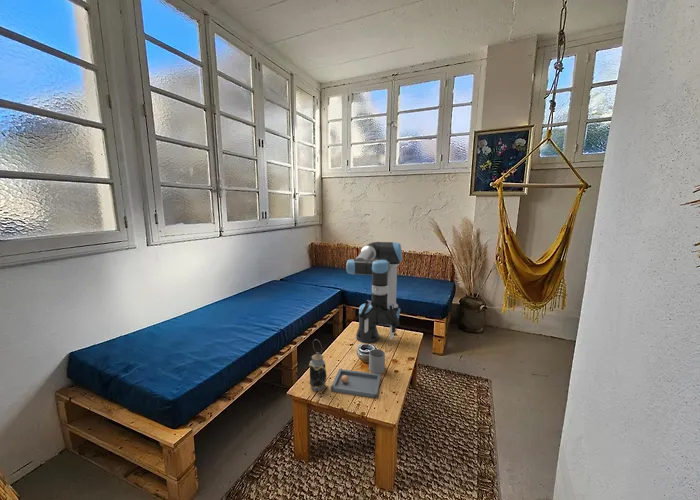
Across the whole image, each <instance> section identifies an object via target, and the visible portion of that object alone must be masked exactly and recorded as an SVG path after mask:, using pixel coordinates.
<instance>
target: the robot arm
mask: <svg viewBox="0 0 700 500" xmlns="http://www.w3.org/2000/svg"><path fill="white" fill-rule="evenodd" d="M402 251H403V250H402V245H401V243H400V242H397V241H396V242H395V241H391V242H390V241H374V242H370V243H368V244H366V245H364V246H363V247H362V248H361V250H360V253H359V254H358V255H357V256H356V257H355V259H354V258H353V259H347V262H346V265H345V266H346V267H345V269H346V273H347V274H349V275H360V276H361V275H364V276H371V300H370V299H367V300H366V301H365V303H362V304H361V305H360V306H359V309H358V327H357V332H356V337H355V338H356V340H357V341H359V342H361V343H364V344H372V343H376V342H378V341H379V339H380V334H379V331H378V328H377V326H378V325H379V326H389V340H393V338H394V335H395V332H396V330H397V328H396V327H399V325H401V323H400V320H399V319H400V314H401V313H400V312H401V308H400V307H399V304H398V303H397V282H398V278H397V277H398V266H399V265H400V264H401V262H402V261H403V252H402Z"/></svg>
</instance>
